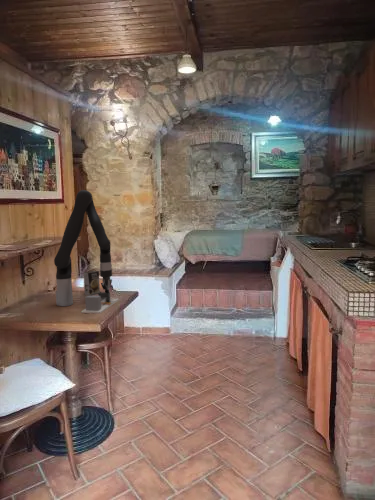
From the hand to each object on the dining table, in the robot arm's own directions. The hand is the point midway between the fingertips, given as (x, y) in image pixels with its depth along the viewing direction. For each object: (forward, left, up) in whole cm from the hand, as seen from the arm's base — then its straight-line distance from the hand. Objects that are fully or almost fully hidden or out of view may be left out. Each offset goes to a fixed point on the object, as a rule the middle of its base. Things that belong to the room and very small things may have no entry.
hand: (107, 295), depth 243 cm
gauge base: (0, -10, -5) cm, 11 cm away
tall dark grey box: (+1, -10, -3) cm, 11 cm away
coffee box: (-20, +21, -5) cm, 30 cm away
